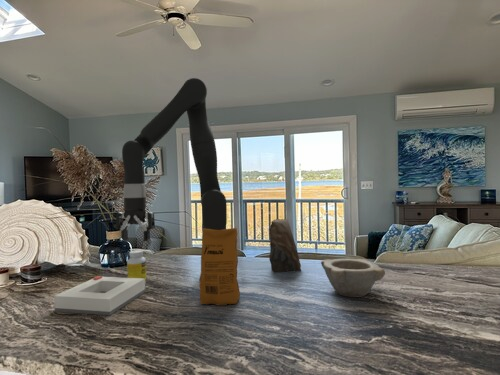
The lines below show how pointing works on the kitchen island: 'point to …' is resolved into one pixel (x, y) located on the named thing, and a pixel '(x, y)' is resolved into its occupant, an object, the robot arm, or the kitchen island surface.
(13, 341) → the kitchen island surface
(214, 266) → the coffee package
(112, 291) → the socket block
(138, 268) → the pill bottle
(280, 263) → the brown rock
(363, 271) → the mortar
